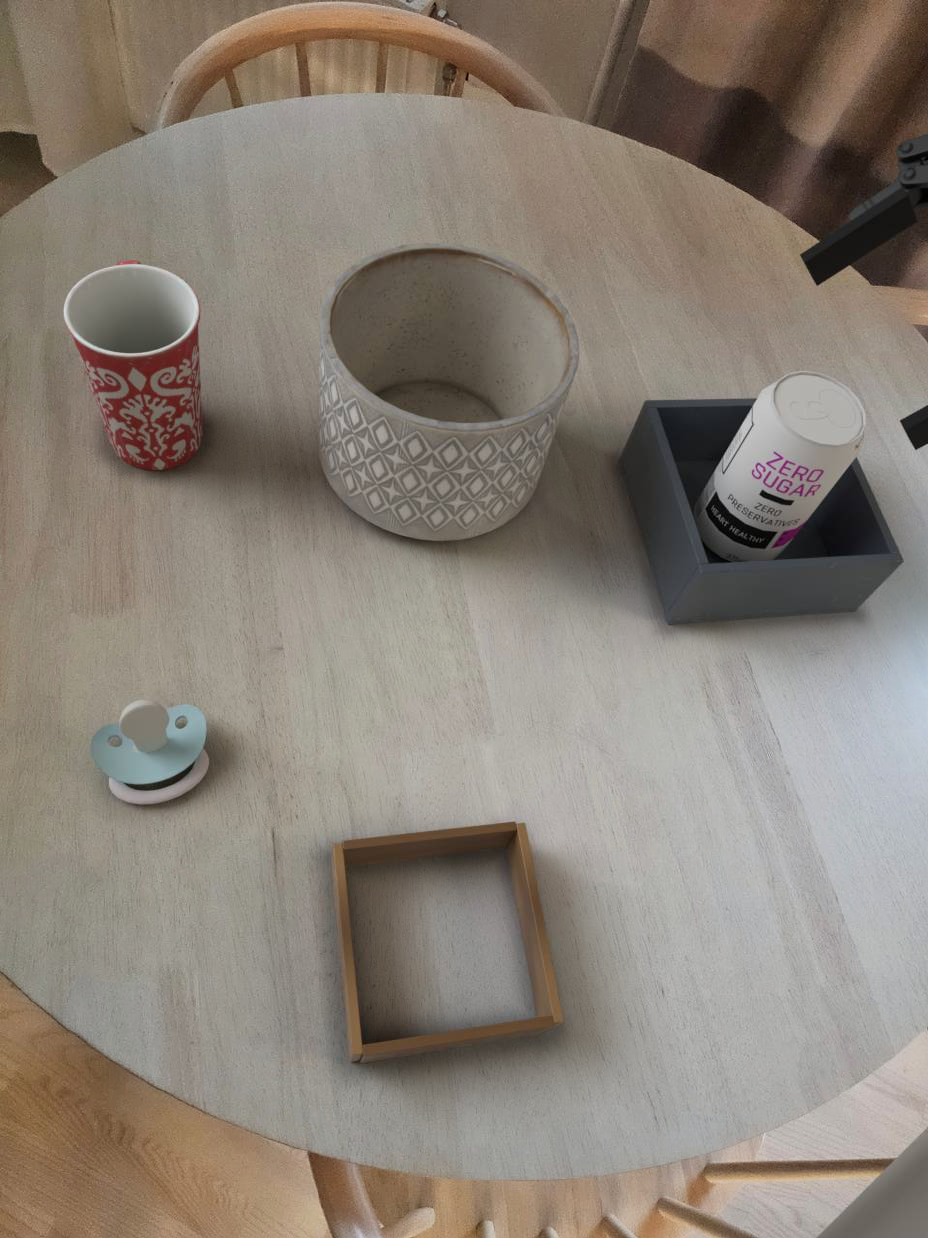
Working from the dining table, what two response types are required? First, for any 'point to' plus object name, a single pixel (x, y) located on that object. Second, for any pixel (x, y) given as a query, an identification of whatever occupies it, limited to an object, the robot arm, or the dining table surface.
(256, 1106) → the dining table surface
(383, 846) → the box
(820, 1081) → the dining table surface
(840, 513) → the grey storage bin
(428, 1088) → the dining table surface
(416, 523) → the planter
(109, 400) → the mug
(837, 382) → the supplement can
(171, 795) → the pacifier
